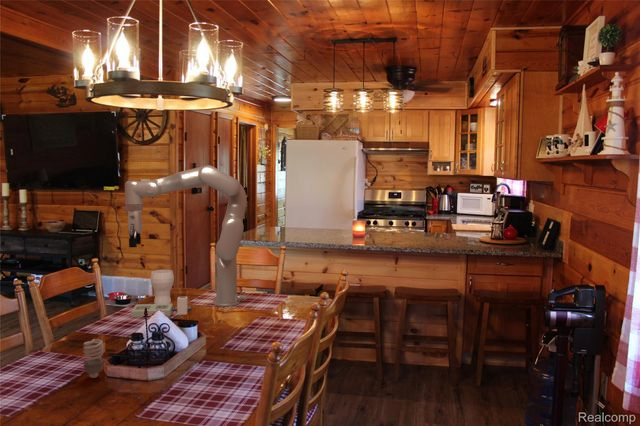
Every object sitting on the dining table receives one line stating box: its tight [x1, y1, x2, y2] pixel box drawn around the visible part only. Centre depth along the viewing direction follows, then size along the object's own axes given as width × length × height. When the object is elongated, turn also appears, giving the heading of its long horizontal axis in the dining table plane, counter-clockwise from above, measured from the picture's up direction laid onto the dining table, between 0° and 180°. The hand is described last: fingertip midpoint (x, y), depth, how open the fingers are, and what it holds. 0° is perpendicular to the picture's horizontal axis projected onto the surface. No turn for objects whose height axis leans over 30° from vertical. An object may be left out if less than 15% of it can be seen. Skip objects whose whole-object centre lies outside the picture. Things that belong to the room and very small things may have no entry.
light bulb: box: [82, 338, 104, 379], centre depth 157 cm, size 6×6×12 cm
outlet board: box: [130, 302, 174, 318], centre depth 229 cm, size 16×12×3 cm
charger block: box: [176, 296, 189, 316], centre depth 229 cm, size 4×4×7 cm
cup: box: [150, 269, 175, 304], centre depth 247 cm, size 11×11×15 cm
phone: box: [172, 305, 193, 312], centre depth 236 cm, size 8×4×1 cm, turn 100°
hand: (135, 245), depth 236 cm, fingers open, 9 cm apart
